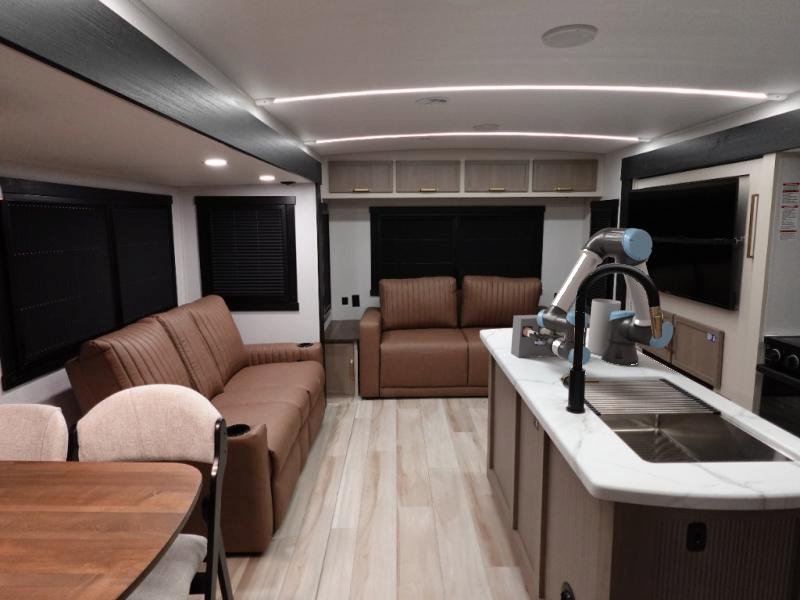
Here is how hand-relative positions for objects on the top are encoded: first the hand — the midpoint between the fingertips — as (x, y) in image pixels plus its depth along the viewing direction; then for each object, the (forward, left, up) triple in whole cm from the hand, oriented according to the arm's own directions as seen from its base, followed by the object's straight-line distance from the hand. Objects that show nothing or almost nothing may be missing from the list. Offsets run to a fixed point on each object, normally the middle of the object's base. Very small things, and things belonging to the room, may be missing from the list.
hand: (528, 332), depth 220 cm
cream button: (-8, -1, -2) cm, 9 cm away
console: (-8, -5, -12) cm, 16 cm away
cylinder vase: (-41, -3, -12) cm, 43 cm away
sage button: (-16, -1, -2) cm, 16 cm away
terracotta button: (0, -2, -2) cm, 3 cm away
